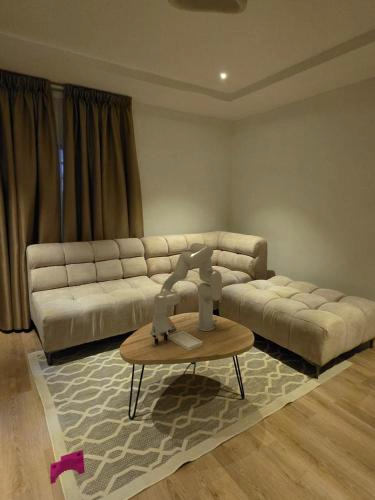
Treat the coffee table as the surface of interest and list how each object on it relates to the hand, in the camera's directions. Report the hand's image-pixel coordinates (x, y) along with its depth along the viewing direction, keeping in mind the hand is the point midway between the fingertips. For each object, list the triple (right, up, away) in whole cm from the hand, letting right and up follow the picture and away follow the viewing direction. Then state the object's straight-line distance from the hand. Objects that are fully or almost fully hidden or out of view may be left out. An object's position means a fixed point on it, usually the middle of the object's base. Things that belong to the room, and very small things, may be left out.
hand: (161, 341), depth 182 cm
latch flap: (+1, +6, +17) cm, 18 cm away
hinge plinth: (+1, +2, +18) cm, 18 cm away
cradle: (+15, -1, +3) cm, 15 cm away
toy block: (-43, -48, -34) cm, 73 cm away
